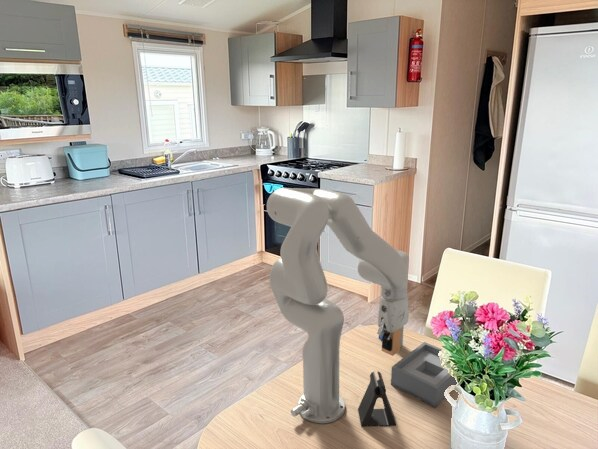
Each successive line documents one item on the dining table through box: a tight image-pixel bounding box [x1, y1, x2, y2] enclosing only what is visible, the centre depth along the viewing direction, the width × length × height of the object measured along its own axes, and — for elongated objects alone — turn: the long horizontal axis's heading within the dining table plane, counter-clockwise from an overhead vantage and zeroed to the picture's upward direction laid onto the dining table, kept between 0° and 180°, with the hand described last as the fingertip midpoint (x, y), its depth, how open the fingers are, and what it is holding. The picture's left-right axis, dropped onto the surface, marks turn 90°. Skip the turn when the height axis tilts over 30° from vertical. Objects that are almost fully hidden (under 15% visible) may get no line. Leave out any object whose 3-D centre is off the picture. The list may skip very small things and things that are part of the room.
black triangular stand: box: [357, 371, 397, 428], centre depth 111 cm, size 9×6×12 cm, turn 90°
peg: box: [381, 328, 401, 357], centre depth 132 cm, size 4×4×10 cm
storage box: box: [390, 341, 457, 408], centre depth 126 cm, size 18×14×6 cm
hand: (391, 345), depth 133 cm, fingers closed on peg, 4 cm apart
